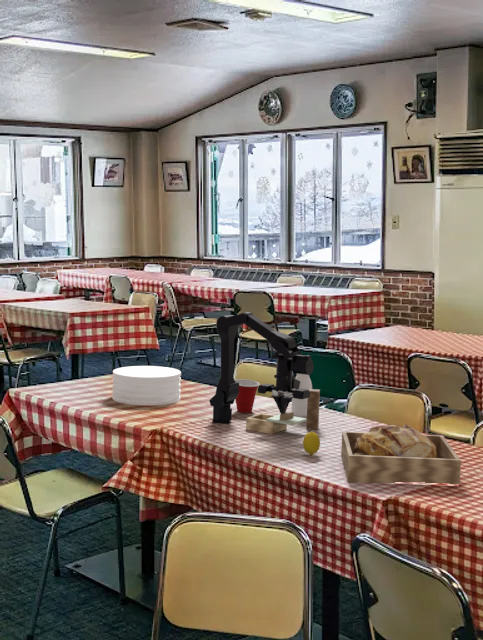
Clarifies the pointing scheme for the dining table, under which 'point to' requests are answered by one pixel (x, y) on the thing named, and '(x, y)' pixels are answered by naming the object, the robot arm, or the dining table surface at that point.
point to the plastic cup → (246, 395)
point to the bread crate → (400, 464)
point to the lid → (286, 419)
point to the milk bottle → (301, 404)
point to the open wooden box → (263, 424)
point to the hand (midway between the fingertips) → (282, 415)
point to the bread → (395, 442)
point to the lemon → (311, 443)
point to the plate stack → (146, 385)
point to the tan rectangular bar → (313, 409)
